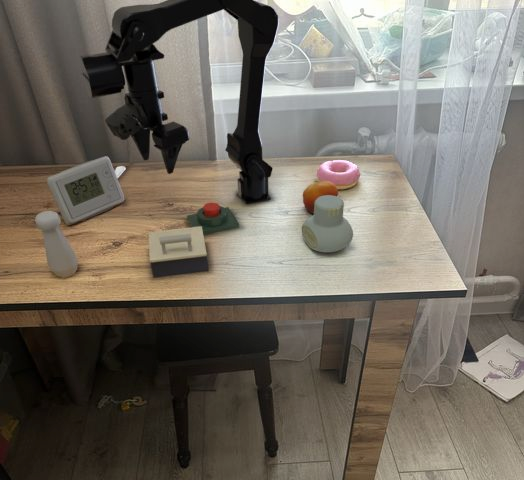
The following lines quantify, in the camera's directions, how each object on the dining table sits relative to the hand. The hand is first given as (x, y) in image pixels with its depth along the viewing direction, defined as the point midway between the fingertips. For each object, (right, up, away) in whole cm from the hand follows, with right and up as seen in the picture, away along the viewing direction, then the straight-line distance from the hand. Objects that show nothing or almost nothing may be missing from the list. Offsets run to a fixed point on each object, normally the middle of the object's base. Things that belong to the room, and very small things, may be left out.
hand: (158, 166), depth 107 cm
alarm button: (+11, -9, +6) cm, 15 cm away
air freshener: (+36, -17, 0) cm, 39 cm away
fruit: (+36, -6, +11) cm, 38 cm away
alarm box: (+11, -10, +8) cm, 17 cm away
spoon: (-17, +4, +23) cm, 29 cm away
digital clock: (-18, -6, +13) cm, 23 cm away
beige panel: (+5, -18, -6) cm, 19 cm away
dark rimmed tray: (+5, -21, -3) cm, 21 cm away
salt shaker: (-18, -23, -4) cm, 30 cm away
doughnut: (+41, +3, +21) cm, 46 cm away
